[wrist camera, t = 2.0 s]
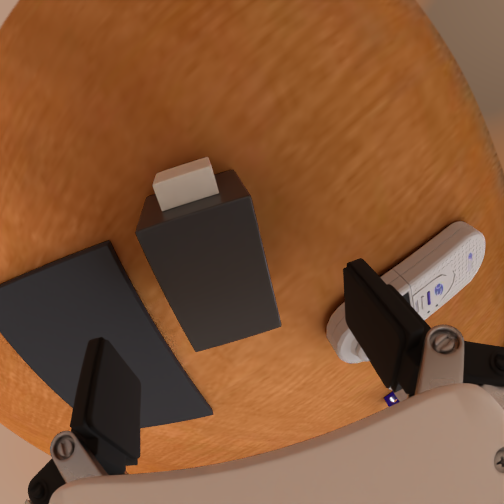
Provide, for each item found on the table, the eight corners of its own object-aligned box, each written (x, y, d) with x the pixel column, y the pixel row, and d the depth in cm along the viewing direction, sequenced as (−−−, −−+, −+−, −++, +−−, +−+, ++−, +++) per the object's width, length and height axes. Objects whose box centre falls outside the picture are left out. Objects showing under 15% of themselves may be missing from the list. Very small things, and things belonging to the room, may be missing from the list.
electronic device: (539, 315, 14) (391, 448, 14) (465, 254, 22) (334, 350, 23) (555, 267, 11) (382, 431, 12) (463, 206, 19) (313, 313, 20)
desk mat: (-21, 293, 14) (-25, 298, 13) (109, 239, 14) (107, 245, 14) (102, 427, 23) (102, 432, 23) (212, 409, 24) (213, 414, 23)
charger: (137, 174, 13) (122, 203, 10) (227, 145, 13) (243, 164, 10) (191, 303, 18) (195, 353, 14) (262, 280, 18) (282, 327, 14)
